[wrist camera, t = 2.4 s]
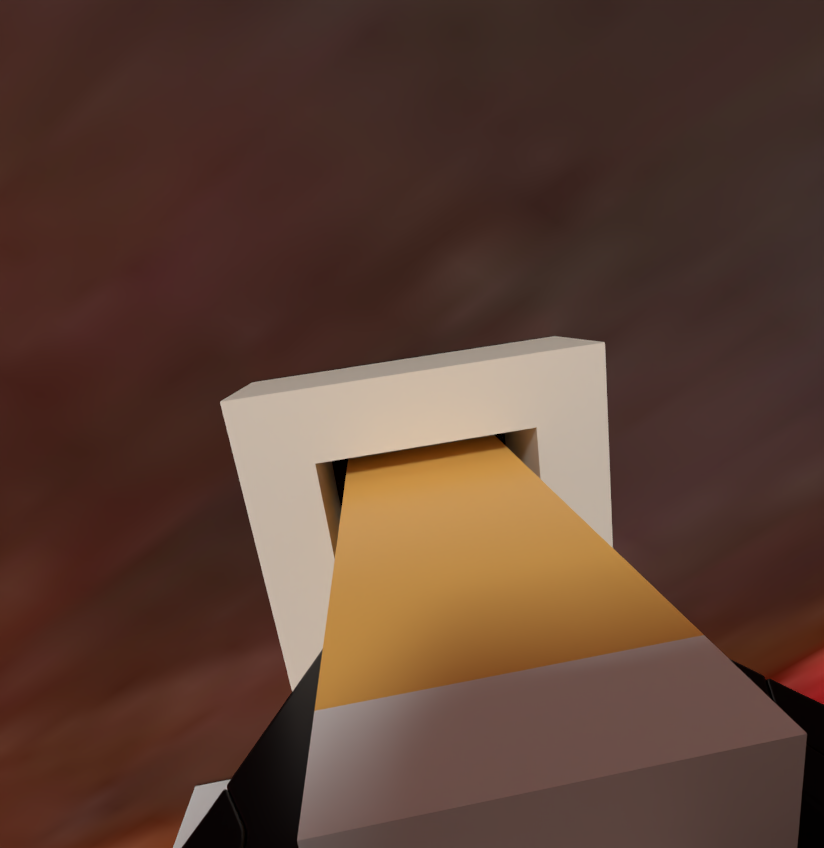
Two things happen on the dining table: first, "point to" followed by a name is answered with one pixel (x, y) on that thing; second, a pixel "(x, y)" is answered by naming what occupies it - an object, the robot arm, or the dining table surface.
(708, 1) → the dining table surface
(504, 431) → the white shallow boxy piece
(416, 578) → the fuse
